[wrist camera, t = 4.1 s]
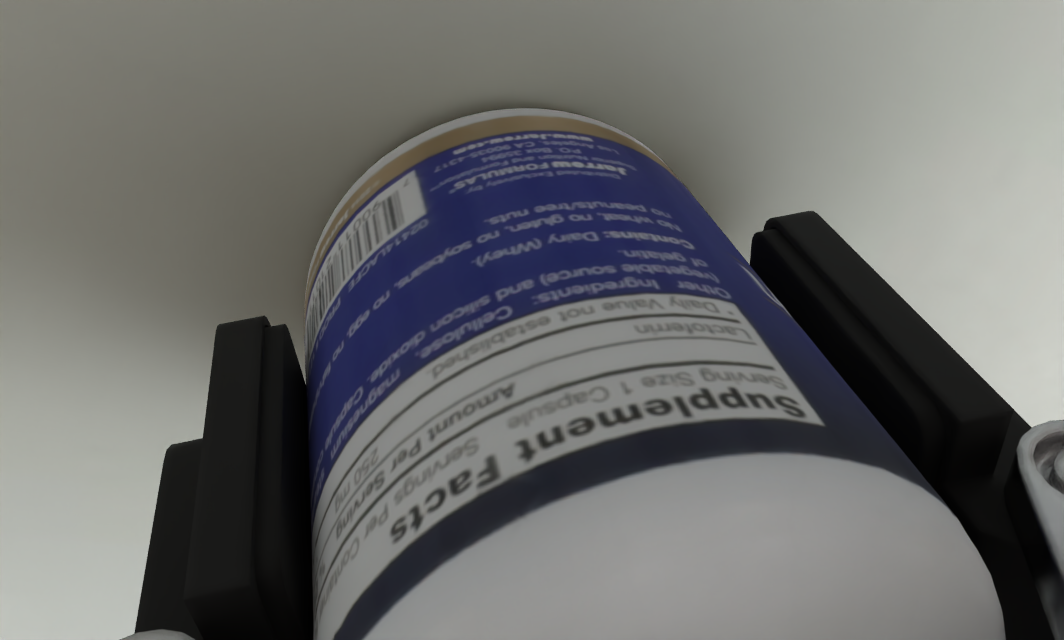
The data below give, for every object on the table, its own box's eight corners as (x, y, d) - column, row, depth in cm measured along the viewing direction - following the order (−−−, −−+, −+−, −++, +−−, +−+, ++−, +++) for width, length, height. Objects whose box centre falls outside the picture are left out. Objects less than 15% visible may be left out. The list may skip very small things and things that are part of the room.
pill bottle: (697, 382, 15) (1162, 1175, 7) (361, 467, 14) (446, 1435, 6) (687, 48, 11) (1590, 862, 3) (244, 144, 11) (115, 1368, 3)
